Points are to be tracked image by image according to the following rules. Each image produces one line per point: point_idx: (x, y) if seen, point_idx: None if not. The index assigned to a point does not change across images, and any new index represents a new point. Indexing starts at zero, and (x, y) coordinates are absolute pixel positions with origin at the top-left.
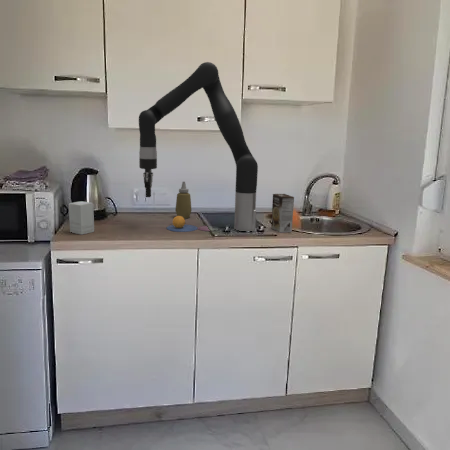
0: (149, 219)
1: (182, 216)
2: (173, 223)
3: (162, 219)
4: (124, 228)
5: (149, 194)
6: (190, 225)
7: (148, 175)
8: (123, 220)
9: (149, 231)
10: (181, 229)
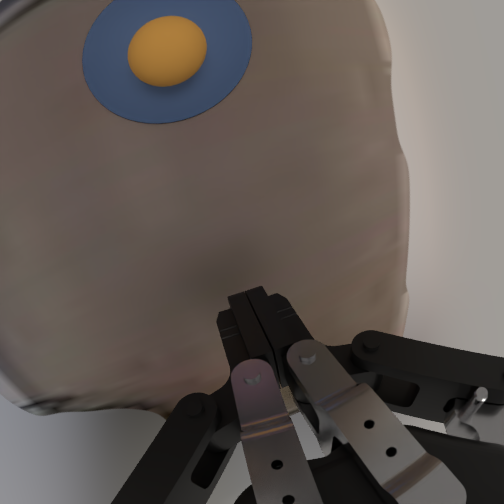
0: (39, 280)
1: None
2: (193, 74)
3: (10, 225)
4: None
5: (289, 303)
6: (99, 26)
7: (491, 445)
8: (115, 357)
9: (278, 178)
10: (208, 36)
